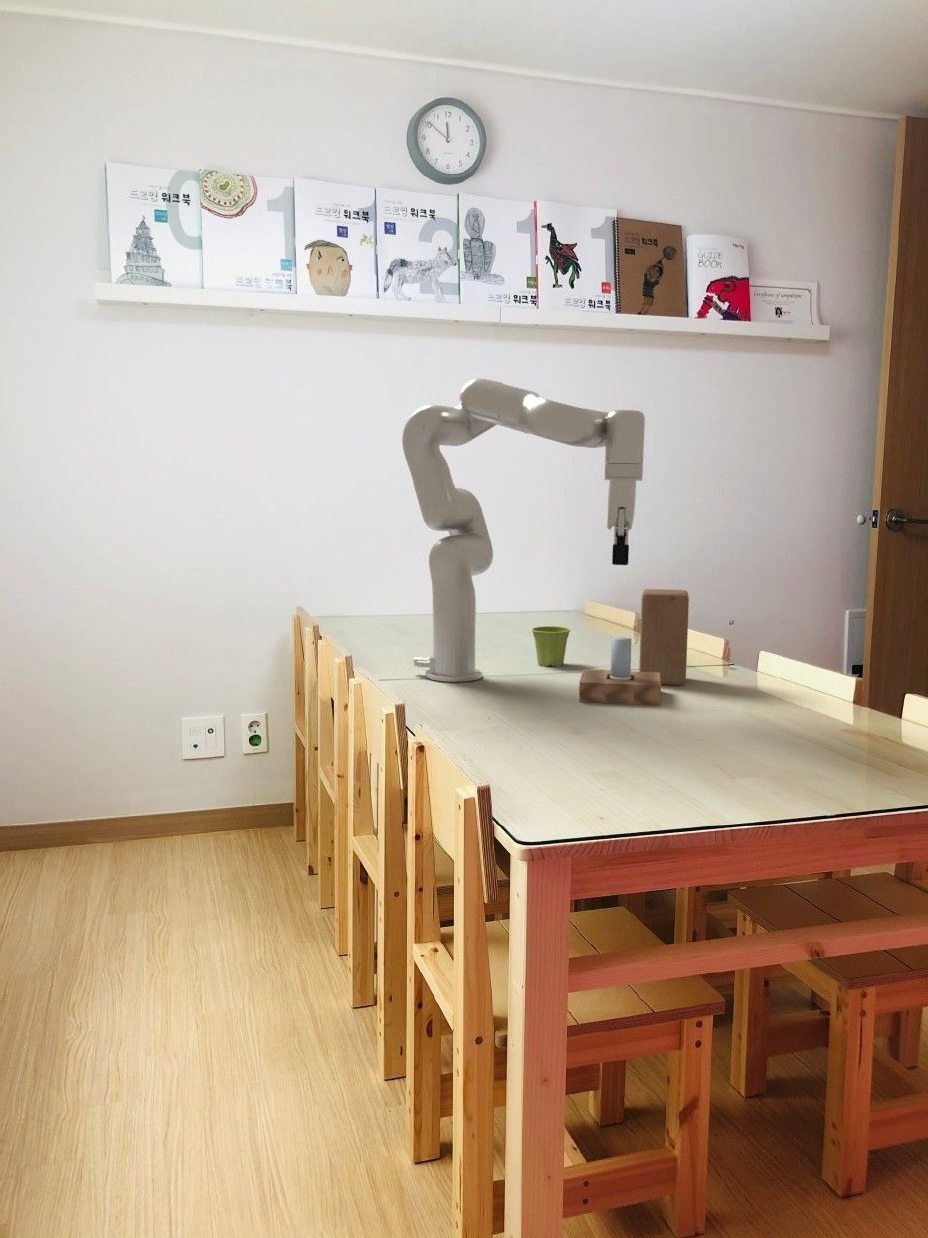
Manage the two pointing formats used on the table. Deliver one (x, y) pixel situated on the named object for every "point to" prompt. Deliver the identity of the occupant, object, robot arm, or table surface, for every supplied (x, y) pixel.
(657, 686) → the seat block
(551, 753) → the table surface
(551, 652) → the plant pot
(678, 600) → the wooden block
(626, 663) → the peg
